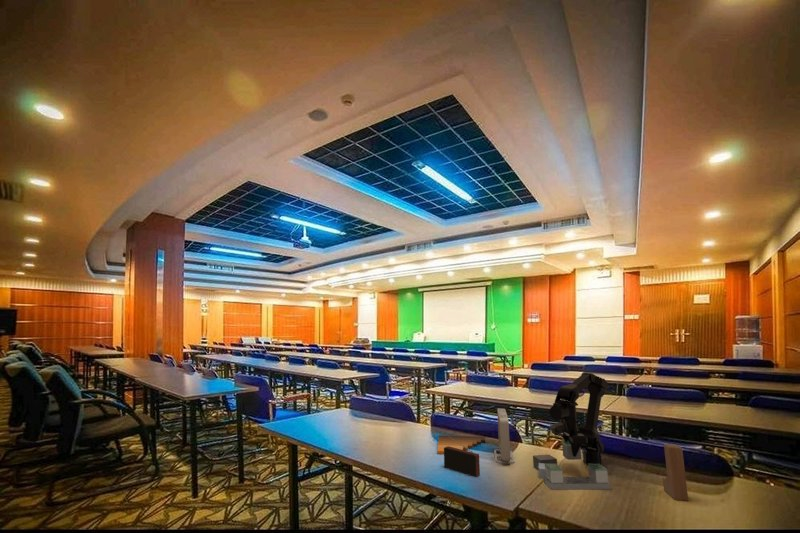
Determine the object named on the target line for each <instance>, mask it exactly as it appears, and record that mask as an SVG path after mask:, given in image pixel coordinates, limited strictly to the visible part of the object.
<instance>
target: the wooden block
mask: <svg viewBox="0 0 800 533" xmlns="http://www.w3.org/2000/svg"><path fill="white" fill-rule="evenodd" d="M663 447H664V458H665V467H666V477H662V484H663V485H662V486H663V490H664V492H666V493H667V494H668V495H669V496H670V497H671V498H672V499H673V500H674V501H683V502H684V501H685V502H686V501H689V496H688V487H687V478H686V470H685V469H686V468H685V460H684V452H683V447H681V446H679V445H678V444H674V443H664V444H663Z"/></svg>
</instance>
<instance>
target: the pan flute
mask: <svg viewBox="0 0 800 533" xmlns="http://www.w3.org/2000/svg"><path fill="white" fill-rule="evenodd" d="M448 436H449V437H448ZM448 436H447V434H446V435H445V434H444V435H441V434H440V435H438V441H437V455H444V448H445V447H447V446H449V447H453V448H457V449H461V450H465V451H469V450H470V449H473V447H475V448H476V447H478V445H479V446H482V444H486V437H485V436H477V435H476V436H473V435H472V436H471V435H448ZM450 437H451V438H452V439H451V438H450ZM453 439H454V440H455V441H454V440H453ZM456 441H457V442H458V443H457V442H456ZM459 443H460V444H461V445H460V444H459ZM462 445H463V446H464V447H463V446H462ZM465 447H466V448H467V449H466V448H465ZM468 449H469V450H468Z"/></svg>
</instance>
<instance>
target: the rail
mask: <svg viewBox="0 0 800 533" xmlns="http://www.w3.org/2000/svg"><path fill="white" fill-rule="evenodd" d="M587 467H588V469H587V470H588V476H563V468H561V466H560V465H558V463H557V464H545V477H544V479H543V483H544V484H545V485H546V487H549V489H550V490H612V489H611V483H610V482H609V475H608V474H609V473H608V469H607V468H606V467H605V466H602V465H601V464H588V466H587Z"/></svg>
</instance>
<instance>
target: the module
mask: <svg viewBox="0 0 800 533" xmlns="http://www.w3.org/2000/svg"><path fill="white" fill-rule="evenodd" d="M561 445H562V446H561V447H562V456H563V457H564V458H565V459H566V460H570V461H571V460H573V461H574V460H576V461H577V460H579V461H580V460H582V461H583V458H582V448H581V447H580V449H579V451H578V453H577V455H576V457H574V456H573V454H572V449H571V444H570V443H569V442H564V441H562V443H561Z"/></svg>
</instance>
